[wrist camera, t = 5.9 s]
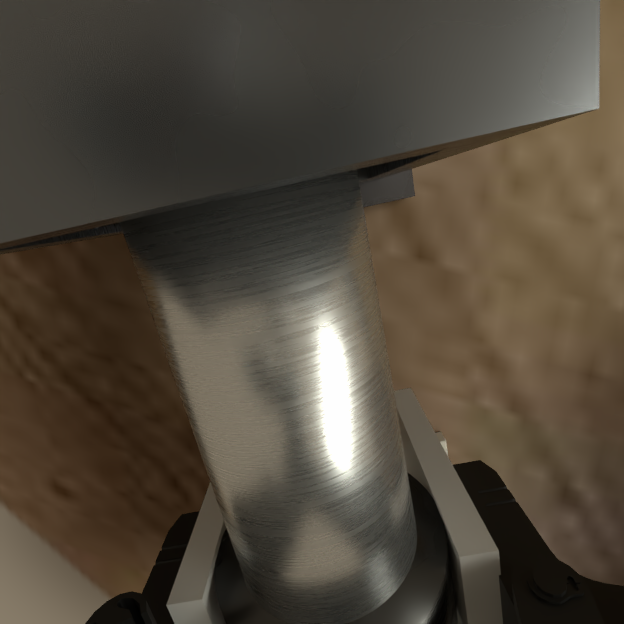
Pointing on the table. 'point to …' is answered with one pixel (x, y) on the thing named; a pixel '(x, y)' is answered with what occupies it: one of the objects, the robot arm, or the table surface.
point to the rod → (294, 407)
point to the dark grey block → (263, 98)
